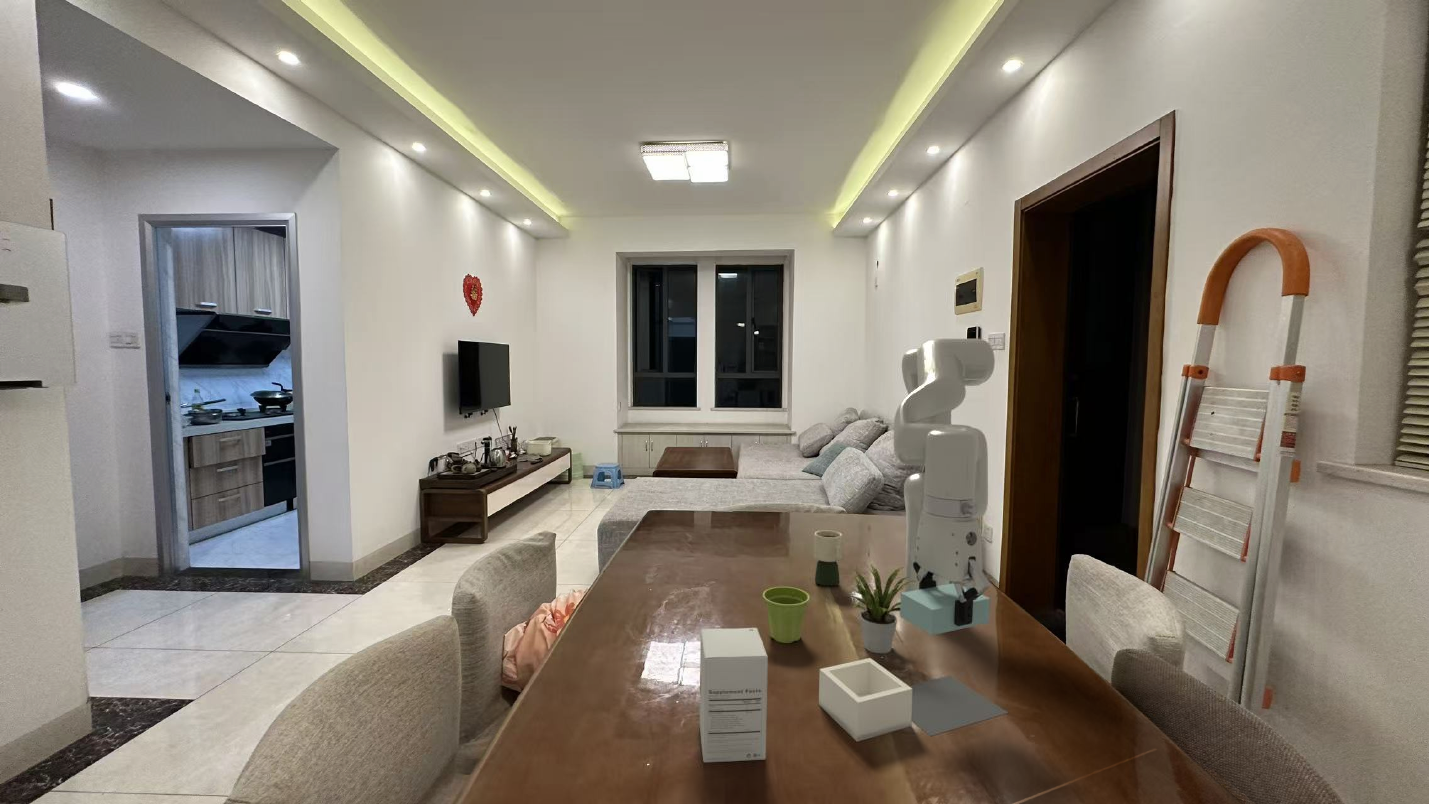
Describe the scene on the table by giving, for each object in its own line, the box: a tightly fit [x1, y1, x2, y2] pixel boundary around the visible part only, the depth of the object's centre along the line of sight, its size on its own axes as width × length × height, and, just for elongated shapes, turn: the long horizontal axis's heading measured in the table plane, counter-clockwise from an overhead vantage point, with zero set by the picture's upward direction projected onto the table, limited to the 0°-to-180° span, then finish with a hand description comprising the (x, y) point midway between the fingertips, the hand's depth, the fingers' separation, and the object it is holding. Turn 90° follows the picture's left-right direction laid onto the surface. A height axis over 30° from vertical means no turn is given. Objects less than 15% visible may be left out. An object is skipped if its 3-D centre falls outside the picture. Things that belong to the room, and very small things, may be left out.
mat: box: [908, 675, 1009, 737], centre depth 92 cm, size 16×12×1 cm
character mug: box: [813, 530, 843, 587], centre depth 145 cm, size 11×7×13 cm, turn 20°
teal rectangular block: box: [899, 582, 991, 636], centre depth 92 cm, size 12×7×4 cm, turn 113°
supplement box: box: [699, 627, 769, 763], centre depth 82 cm, size 9×9×15 cm
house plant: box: [850, 563, 919, 654], centre depth 111 cm, size 14×14×16 cm
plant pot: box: [762, 586, 810, 644], centre depth 115 cm, size 9×9×9 cm
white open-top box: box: [818, 657, 912, 742], centre depth 89 cm, size 10×10×6 cm
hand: (944, 613), depth 92 cm, fingers closed on teal rectangular block, 7 cm apart
